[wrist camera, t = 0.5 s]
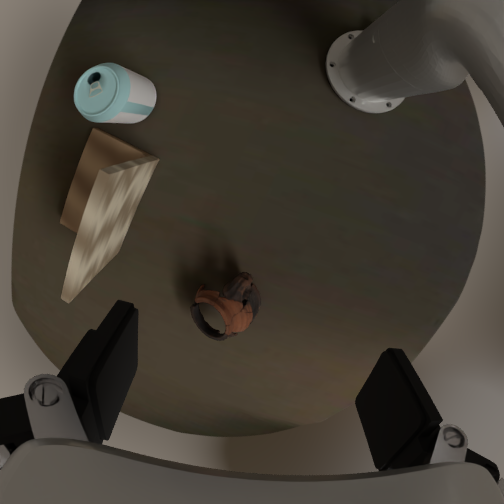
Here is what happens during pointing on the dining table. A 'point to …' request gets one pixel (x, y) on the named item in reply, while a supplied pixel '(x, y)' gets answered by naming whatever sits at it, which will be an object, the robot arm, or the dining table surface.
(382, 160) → the dining table surface
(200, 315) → the vr controller
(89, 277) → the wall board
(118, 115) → the can
